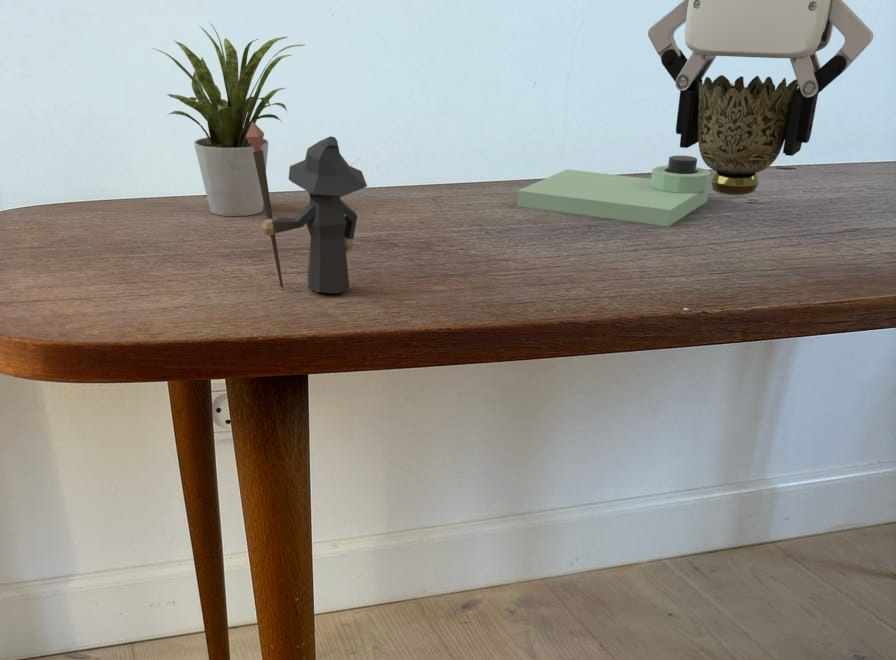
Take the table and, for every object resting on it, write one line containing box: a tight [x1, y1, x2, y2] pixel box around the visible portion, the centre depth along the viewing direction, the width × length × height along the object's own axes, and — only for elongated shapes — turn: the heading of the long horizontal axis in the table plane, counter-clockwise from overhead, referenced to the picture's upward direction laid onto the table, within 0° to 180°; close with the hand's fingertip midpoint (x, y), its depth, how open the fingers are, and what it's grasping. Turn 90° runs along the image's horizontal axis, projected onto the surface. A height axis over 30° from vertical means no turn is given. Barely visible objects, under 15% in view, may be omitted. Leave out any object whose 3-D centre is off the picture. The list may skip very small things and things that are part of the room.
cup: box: [698, 74, 799, 196], centre depth 82 cm, size 8×7×8 cm
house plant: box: [151, 22, 304, 217], centre depth 100 cm, size 14×14×16 cm
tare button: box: [667, 155, 698, 174], centre depth 107 cm, size 3×3×2 cm
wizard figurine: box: [246, 121, 368, 294], centre depth 79 cm, size 8×6×12 cm
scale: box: [516, 164, 712, 227], centre depth 108 cm, size 16×13×3 cm
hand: (739, 147), depth 82 cm, fingers closed on cup, 7 cm apart
